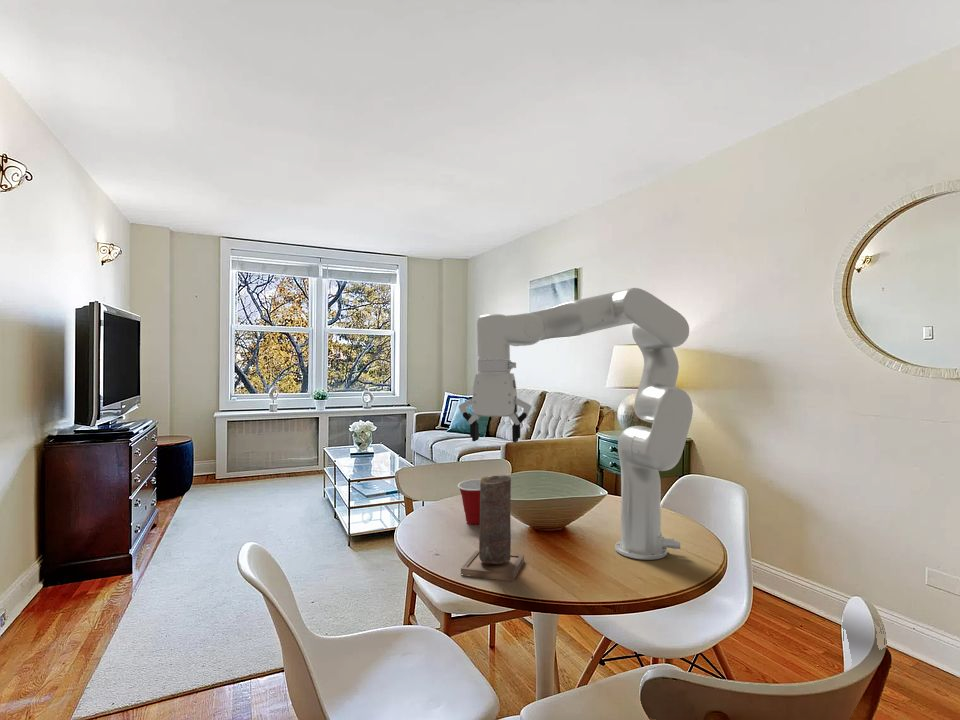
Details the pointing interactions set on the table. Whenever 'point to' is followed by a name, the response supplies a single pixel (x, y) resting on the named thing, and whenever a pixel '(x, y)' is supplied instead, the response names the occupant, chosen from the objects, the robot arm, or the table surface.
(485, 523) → the grey brown rough cylinder
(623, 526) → the robot arm
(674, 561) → the table surface
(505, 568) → the picture frame
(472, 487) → the plastic cup
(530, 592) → the table surface
